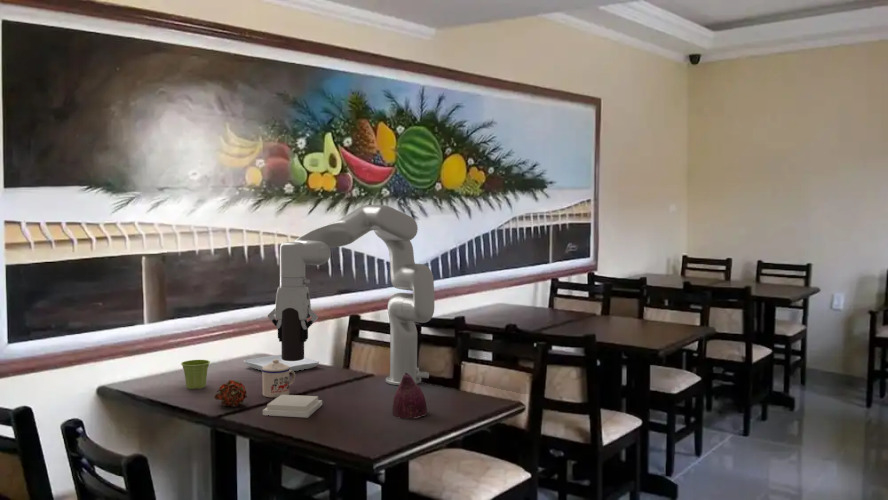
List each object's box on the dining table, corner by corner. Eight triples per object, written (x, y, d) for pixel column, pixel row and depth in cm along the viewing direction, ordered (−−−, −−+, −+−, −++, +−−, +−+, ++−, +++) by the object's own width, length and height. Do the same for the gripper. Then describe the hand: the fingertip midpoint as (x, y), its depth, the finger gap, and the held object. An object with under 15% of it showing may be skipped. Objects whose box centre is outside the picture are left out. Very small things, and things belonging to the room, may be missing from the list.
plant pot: (175, 389, 260) (175, 363, 259) (194, 382, 268) (193, 358, 268) (197, 392, 256) (197, 366, 255) (216, 385, 265) (215, 360, 264)
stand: (322, 405, 241) (322, 395, 241) (307, 417, 227) (307, 407, 227) (279, 402, 243) (279, 393, 243) (262, 415, 229) (262, 405, 229)
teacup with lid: (271, 399, 247) (271, 363, 246) (256, 394, 254) (256, 359, 253) (302, 393, 256) (302, 358, 255) (287, 388, 262) (287, 354, 261)
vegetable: (414, 431, 226) (412, 386, 221) (385, 420, 231) (383, 376, 226) (433, 414, 234) (432, 371, 229) (406, 404, 240) (404, 362, 234)
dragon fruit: (240, 415, 235) (221, 412, 244) (258, 394, 240) (239, 393, 249) (223, 395, 232) (204, 393, 240) (242, 375, 237) (223, 374, 245)
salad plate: (321, 369, 293) (321, 360, 292) (273, 378, 277) (273, 369, 277) (288, 361, 307) (288, 352, 307) (241, 369, 292) (241, 360, 292)
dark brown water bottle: (285, 356, 238) (285, 292, 237) (306, 357, 237) (306, 292, 236) (278, 361, 231) (278, 295, 230) (300, 361, 231) (300, 295, 229)
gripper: (324, 282, 235) (324, 340, 236) (269, 280, 238) (270, 338, 239) (316, 284, 228) (316, 344, 229) (260, 283, 230) (261, 342, 231)
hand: (292, 340), depth 234 cm, fingers closed on dark brown water bottle, 6 cm apart
